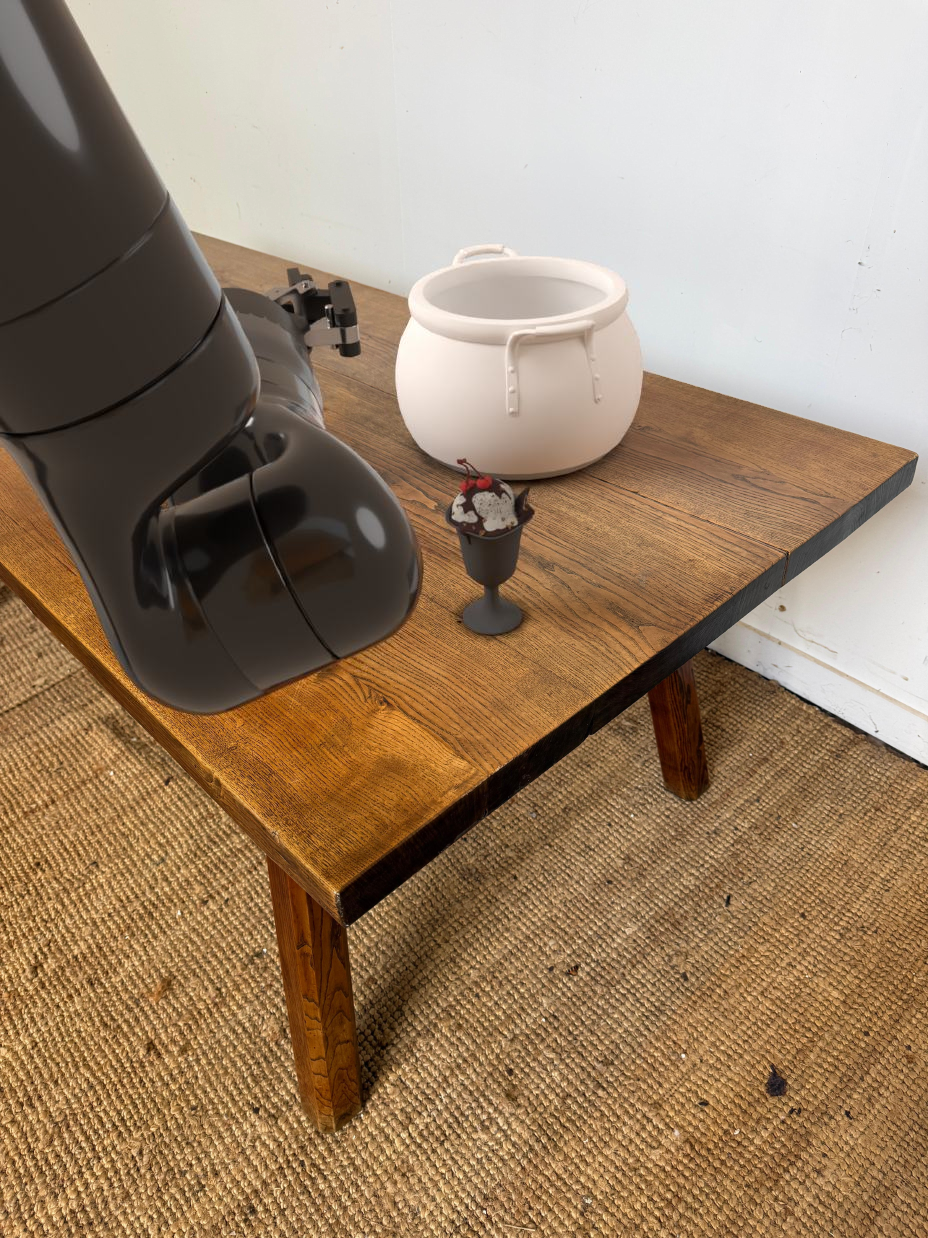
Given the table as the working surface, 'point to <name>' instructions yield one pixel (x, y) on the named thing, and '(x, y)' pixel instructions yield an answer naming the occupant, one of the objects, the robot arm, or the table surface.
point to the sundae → (489, 546)
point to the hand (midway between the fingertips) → (225, 292)
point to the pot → (518, 364)
